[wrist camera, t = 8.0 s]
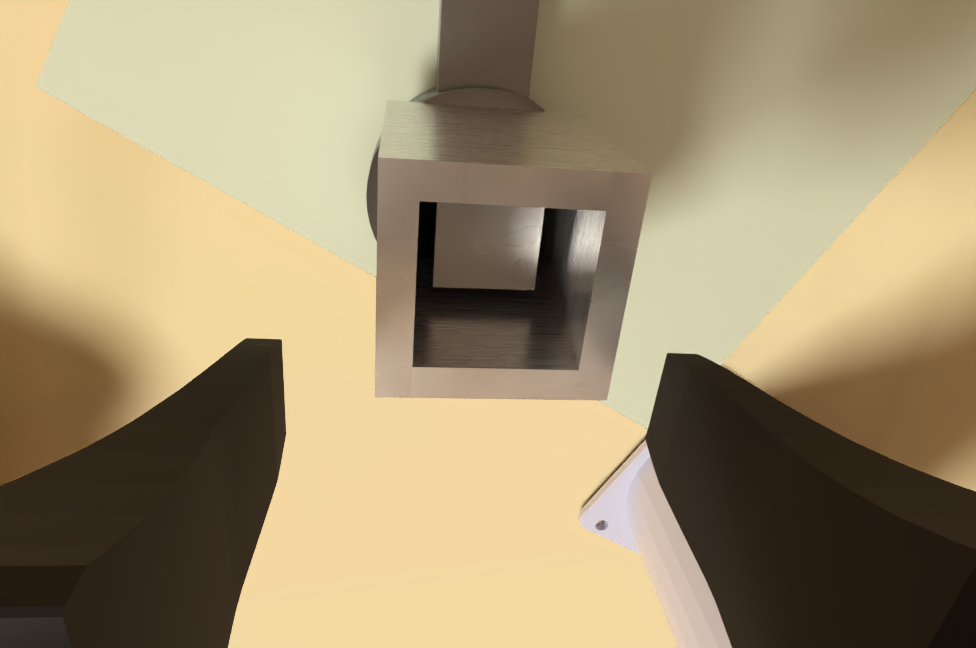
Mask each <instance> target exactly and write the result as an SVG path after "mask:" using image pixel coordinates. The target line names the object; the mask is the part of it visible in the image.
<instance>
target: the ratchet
mask: <svg viewBox="0 0 976 648" xmlns="http://www.w3.org/2000/svg"><path fill="white" fill-rule="evenodd" d="M538 8H539V0H440V4H439V26H438V48H437V70H436V87H434V88H432V89H429V90H427V91H425V92H423V93H421V94H420V95H418V96H416V97H415V98H413V99H412V100H410V101H409V102H421V103H435V104H448V105H462V106H476V107H489V108H503V109H517V110H530V111H544V112H546V111H545V110H544V109H543V108H542V107H541V106H539V105H538V104H537V103H536V102H535V101H534V100H532V99H531V98H529V93H530V83H531V74H532V65H533V55H534V46H535V36H536V27H537V17H538ZM381 135H382V134H381ZM380 141H381V136H380V138H379V140H378V142H377V144H376V147H375V150H374V153H373V156H372V161H371V166H370V171H369V176H368V181H367V193H366V201H367V212H368V217H369V222H370V226H371V229H372V232H373V234H374V237H375V239H376V241H377V197H378V154H379V148H380ZM544 209H545V208H538V207H520V206H501V205H482V204H463V203H445V202H426V201H419V223H418V247H417V258H431V270H432V282H433V287H446V288H478V289H509V290H534V289H535V281H536V273H537V265H538V257H539V249H540V241H541V233H542V225H543V217H544Z"/></svg>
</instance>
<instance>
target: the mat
mask: <svg viewBox="0 0 976 648" xmlns="http://www.w3.org/2000/svg"><path fill="white" fill-rule="evenodd" d="M439 4H440V0H69V3H68V5H67V8H66V10H65V13H64V15H63V18H62V20H61V23H60V25H59V28H58V30H57V33H56V35H55V38H54V40H53V43H52V45H51V48H50V50H49V53H48V55H47V58H46V61H45V63H44V66H43V68H42V71H41V73H40V76H39V78H38V81H37V83H36V86H35V87H36V88H38V89H40V90H42V91H43V92H45V93H47V94H49V95H51V96H52V97H54V98H56V99H58V100H59V101H61V102H63V103H65V104H67V105H68V106H70V107H72V108H74V109H76V110H77V111H79V112H81V113H83V114H85V115H86V116H88V117H90V118H92V119H93V120H95V121H97V122H99V123H101V124H102V125H104V126H106V127H108V128H110V129H111V130H113V131H115V132H117V133H118V134H120V135H122V136H124V137H126V138H127V139H129V140H131V141H133V142H135V143H136V144H138V145H140V146H142V147H144V148H145V149H147V150H149V151H151V152H152V153H154V154H156V155H158V156H160V157H161V158H163V159H165V160H167V161H169V162H170V163H172V164H174V165H176V166H178V167H179V168H181V169H183V170H185V171H186V172H188V173H190V174H192V175H194V176H195V177H197V178H199V179H201V180H203V181H204V182H206V183H208V184H210V185H212V186H213V187H215V188H217V189H219V190H220V191H222V192H224V193H226V194H228V195H229V196H231V197H233V198H235V199H237V200H238V201H240V202H242V203H244V204H246V205H247V206H249V207H251V208H253V209H254V210H256V211H258V212H260V213H262V214H263V215H265V216H267V217H269V218H271V219H272V220H274V221H276V222H278V223H280V224H281V225H283V226H285V227H287V228H288V229H290V230H292V231H294V232H296V233H297V234H299V235H301V236H303V237H305V238H306V239H308V240H310V241H312V242H314V243H315V244H317V245H319V246H321V247H322V248H324V249H326V250H328V251H330V252H331V253H333V254H335V255H337V256H339V257H340V258H342V259H344V260H346V261H348V262H349V263H351V264H353V265H355V266H356V267H358V268H360V269H362V270H364V271H365V272H367V273H369V274H371V275H373V276H374V277H376V274H377V241H376V239H375V237H374V234H373V232H372V229H371V226H370V222H369V217H368V212H367V201H366V193H367V181H368V176H369V171H370V166H371V161H372V156H373V153H374V150H375V147H376V144H377V142H378V140H379V138H380V136H381V134H382V129H383V123H384V116H385V110H386V104H387V100H394V101H407V102H409V101H410V100H412V99H413V98H415V97H416V96H418V95H420V94H421V93H423V92H425V91H427V90H429V89H432V88H434V87H436V70H437V48H438V26H439ZM975 89H976V0H539V8H538V17H537V27H536V36H535V46H534V55H533V65H532V74H531V83H530V93H529V98H531V99H532V100H534V101H535V102H536V103H537V104H538V105H539V106H541V107H542V108H543V109H544V110H545V111H546V112H558V113H571V114H579V115H581V116H582V117H583V118H584V119H586V120H587V121H588V122H589V123H590V124H592V125H593V126H594V127H595V128H597V129H598V130H599V131H600V132H601V133H603V134H604V135H605V136H606V137H608V138H609V139H610V140H611V141H613V142H614V143H615V144H616V145H617V146H619V147H620V148H621V149H622V150H624V151H625V152H626V153H627V154H628V155H630V156H631V157H632V158H633V159H635V160H636V161H637V162H638V163H639V164H641V165H642V166H643V167H644V168H646V169H647V170H648V171H649V172H651V173H652V179H651V184H650V189H649V194H648V199H647V204H646V209H645V213H644V218H643V223H642V228H641V233H640V238H639V243H638V248H637V253H636V258H635V263H634V268H633V273H632V278H631V283H630V288H629V293H628V298H627V303H626V308H625V313H624V318H623V323H622V328H621V333H620V338H619V343H618V348H617V353H616V358H615V362H614V367H613V372H612V377H611V382H610V387H609V392H608V397H607V400H596V401H598V402H600V403H602V404H603V405H605V406H607V407H609V408H611V409H612V410H614V411H616V412H618V413H619V414H621V415H623V416H625V417H627V418H628V419H630V420H632V421H634V422H636V423H637V424H639V425H641V426H643V427H645V428H646V429H648V427H649V423H650V419H651V415H652V411H653V407H654V403H655V399H656V395H657V391H658V387H659V383H660V379H661V375H662V371H663V367H664V363H665V359H666V355H667V353H683V354H698V355H701V356H703V357H705V358H707V359H709V360H711V361H713V362H715V363H717V364H718V365H721V364H722V363H723V362H724V360H725V359H726V358H727V357H728V356H729V355H730V354H731V353H732V352H733V351H734V350H735V349H736V348H737V346H738V345H739V344H740V343H741V342H742V341H743V340H744V339H745V338H746V337H747V336H748V335H749V333H750V332H751V331H752V330H753V329H754V328H755V327H756V326H757V325H758V324H759V323H760V322H761V320H762V319H763V318H764V317H765V316H766V315H767V314H768V313H769V312H770V311H771V310H772V309H773V307H774V306H775V305H776V304H777V303H778V302H779V301H780V300H781V299H782V298H783V297H784V296H785V295H786V293H787V292H788V291H789V290H790V289H791V288H792V287H793V286H794V285H795V284H796V283H797V282H798V280H799V279H800V278H801V277H802V276H803V275H804V274H805V273H806V272H807V271H808V270H809V269H810V267H811V266H812V265H813V264H814V263H815V262H816V261H817V260H818V259H819V258H820V257H821V256H822V255H823V253H824V252H825V251H826V250H827V249H828V248H829V247H830V246H831V245H832V244H833V243H834V242H835V240H836V239H837V238H838V237H839V236H840V235H841V234H842V233H843V232H844V231H845V230H846V229H847V227H848V226H849V225H850V224H851V223H852V222H853V221H854V220H855V219H856V218H857V217H858V216H859V215H860V213H861V212H862V211H863V210H864V209H865V208H866V207H867V206H868V205H869V204H870V203H871V202H872V200H873V199H874V198H875V197H876V196H877V195H878V194H879V193H880V192H881V191H882V190H883V189H884V187H885V186H886V185H887V184H888V183H889V182H890V181H891V180H892V179H893V178H894V177H895V176H896V174H897V173H898V172H899V171H900V170H901V169H902V168H903V167H904V166H905V165H906V164H907V163H908V162H909V160H910V159H911V158H912V157H913V156H914V155H915V154H916V153H917V152H918V151H919V150H920V149H921V147H922V146H923V145H924V144H925V143H926V142H927V141H928V140H929V139H930V138H931V137H932V136H933V134H934V133H935V132H936V131H937V130H938V129H939V128H940V127H941V126H942V125H943V124H944V123H945V122H946V120H947V119H948V118H949V117H950V116H951V115H952V114H953V113H954V112H955V111H956V110H957V109H958V107H959V106H960V105H961V104H962V103H963V102H964V101H965V100H966V99H967V98H968V97H969V96H970V94H971V93H972V92H973V91H974V90H975Z"/></svg>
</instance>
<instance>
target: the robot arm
mask: <svg viewBox="0 0 976 648" xmlns="http://www.w3.org/2000/svg"><path fill="white" fill-rule="evenodd" d="M285 436H286V424H285V403H284V381H283V360H282V340H280V339H251V338H246V339H245V340H243V341H242V342H240V343H239V344H238V345H236V346H235V347H234V348H233V349H231V350H230V351H229V352H228V353H226V354H225V355H224V356H223V357H221V358H220V359H219V360H218V361H216V362H215V363H214V364H213V365H211V366H210V367H209V368H207V369H206V370H205V371H204V372H202V373H201V374H200V375H198V376H197V377H196V378H194V379H193V380H192V381H190V382H189V383H188V384H187V385H185V386H184V387H183V388H181V389H180V390H178V391H177V392H175V393H174V394H172V395H171V396H170V397H168V398H167V399H165V400H164V401H162V402H161V403H159V404H158V405H156V406H155V407H153V408H152V409H150V410H149V411H147V412H146V413H144V414H143V415H142V416H140V417H139V418H137V419H135V420H134V421H132V422H130V423H129V424H127V425H125V426H124V427H122V428H120V429H119V430H117V431H115V432H113V433H112V434H110V435H108V436H106V437H104V438H102V439H101V440H99V441H97V442H95V443H93V444H91V445H90V446H88V447H86V448H84V449H82V450H80V451H78V452H76V453H74V454H72V455H69V456H67V457H65V458H63V459H61V460H58V461H56V462H54V463H52V464H50V465H47V466H45V467H43V468H41V469H39V470H36V471H34V472H32V473H30V474H28V475H25V476H23V477H21V478H19V479H16V480H14V481H11V482H9V483H6V484H4V485H1V486H0V648H228V644H229V639H230V634H231V630H232V625H233V620H234V616H235V611H236V608H237V604H238V601H239V597H240V594H241V590H242V587H243V584H244V581H245V578H246V575H247V572H248V569H249V566H250V563H251V560H252V557H253V554H254V551H255V548H256V544H257V541H258V538H259V535H260V532H261V529H262V526H263V523H264V520H265V517H266V514H267V511H268V508H269V505H270V502H271V499H272V496H273V493H274V490H275V487H276V483H277V480H278V475H279V469H280V464H281V459H282V453H283V448H284V442H285ZM578 519H579V522H580V524H581V526H582V527H583V528H585V529H587V530H589V531H591V532H593V533H595V534H597V535H600V536H602V537H604V538H606V539H608V540H610V541H612V542H614V543H617V544H619V545H621V546H623V547H625V548H627V549H629V550H632V551H634V552H636V553H638V554H640V555H641V558H642V560H643V563H644V565H645V568H646V570H647V573H648V575H649V578H650V580H651V583H652V585H653V587H654V590H655V592H656V595H657V597H658V600H659V602H660V605H661V607H662V610H663V612H664V615H665V617H666V620H667V622H668V625H669V627H670V630H671V632H672V635H673V637H674V640H675V642H676V645H677V647H678V648H976V492H975V491H972V490H969V489H966V488H963V487H960V486H958V485H955V484H952V483H950V482H947V481H944V480H942V479H939V478H937V477H934V476H931V475H929V474H926V473H923V472H921V471H918V470H916V469H913V468H911V467H908V466H906V465H904V464H901V463H899V462H897V461H894V460H892V459H890V458H888V457H885V456H883V455H881V454H879V453H877V452H875V451H872V450H870V449H868V448H866V447H864V446H861V445H859V444H857V443H855V442H853V441H851V440H849V439H847V438H845V437H843V436H841V435H839V434H837V433H835V432H834V431H832V430H830V429H828V428H826V427H824V426H822V425H821V424H819V423H817V422H815V421H813V420H811V419H810V418H808V417H806V416H804V415H802V414H801V413H799V412H797V411H796V410H794V409H792V408H790V407H789V406H787V405H785V404H784V403H782V402H780V401H778V400H777V399H775V398H773V397H772V396H770V395H768V394H767V393H765V392H764V391H762V390H760V389H759V388H757V387H755V386H754V385H752V384H750V383H749V382H747V381H745V380H744V379H742V378H741V377H739V376H737V375H736V374H734V373H732V372H731V371H729V370H727V369H725V368H724V367H722V366H720V365H718V364H717V363H715V362H713V361H711V360H709V359H707V358H705V357H703V356H701V355H698V354H683V353H667V355H666V359H665V363H664V367H663V371H662V375H661V379H660V383H659V387H658V391H657V395H656V399H655V403H654V407H653V411H652V415H651V419H650V423H649V427H648V431H647V435H646V439H645V441H644V442H643V443H642V444H641V445H640V446H639V447H638V448H637V449H636V450H635V451H634V453H633V454H632V455H631V456H630V457H629V458H628V459H627V460H626V461H625V462H624V463H623V465H622V466H621V467H620V468H619V469H618V470H617V471H616V472H615V473H614V474H613V475H612V476H611V478H610V479H609V480H608V481H607V482H606V483H605V484H604V485H603V486H602V487H601V488H600V489H599V491H598V492H597V493H596V494H595V495H594V496H593V497H592V498H591V499H590V500H589V501H588V503H587V504H586V505H585V506H584V507H583V508H582V509H581V510H580V512H579V513H578ZM603 520H604V521H603ZM599 521H603V522H602V523H598V522H599Z"/></svg>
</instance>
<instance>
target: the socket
mask: <svg viewBox="0 0 976 648" xmlns="http://www.w3.org/2000/svg"><path fill="white" fill-rule="evenodd" d="M651 179H652V173H651V172H649V171H648V170H647V169H646V168H644V167H643V166H642V165H641V164H639V163H638V162H637V161H636V160H635V159H633V158H632V157H631V156H630V155H628V154H627V153H626V152H625V151H624V150H622V149H621V148H620V147H619V146H617V145H616V144H615V143H614V142H613V141H611V140H610V139H609V138H608V137H606V136H605V135H604V134H603V133H601V132H600V131H599V130H598V129H597V128H595V127H594V126H593V125H592V124H590V123H589V122H588V121H587V120H586V119H584V118H583V117H582V116H581V115H579V114H571V113H558V112H544V111H530V110H517V109H503V108H489V107H476V106H462V105H448V104H435V103H421V102H407V101H394V100H387V104H386V110H385V116H384V123H383V129H382V135H381V141H380V148H379V154H378V197H377V274H376V351H375V397H399V398H471V399H543V400H607V397H608V392H609V387H610V382H611V377H612V372H613V367H614V362H615V358H616V353H617V348H618V343H619V338H620V333H621V328H622V323H623V318H624V313H625V308H626V303H627V298H628V293H629V288H630V283H631V278H632V273H633V268H634V263H635V258H636V253H637V248H638V243H639V238H640V233H641V228H642V223H643V218H644V213H645V209H646V204H647V199H648V194H649V189H650V184H651ZM419 201H426V202H445V203H463V204H482V205H501V206H520V207H538V208H545V209H544V217H543V225H542V233H541V241H540V249H539V257H538V265H537V273H536V281H535V289H534V290H509V289H478V288H446V287H433V282H432V270H431V258H417V247H418V223H419Z"/></svg>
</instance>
